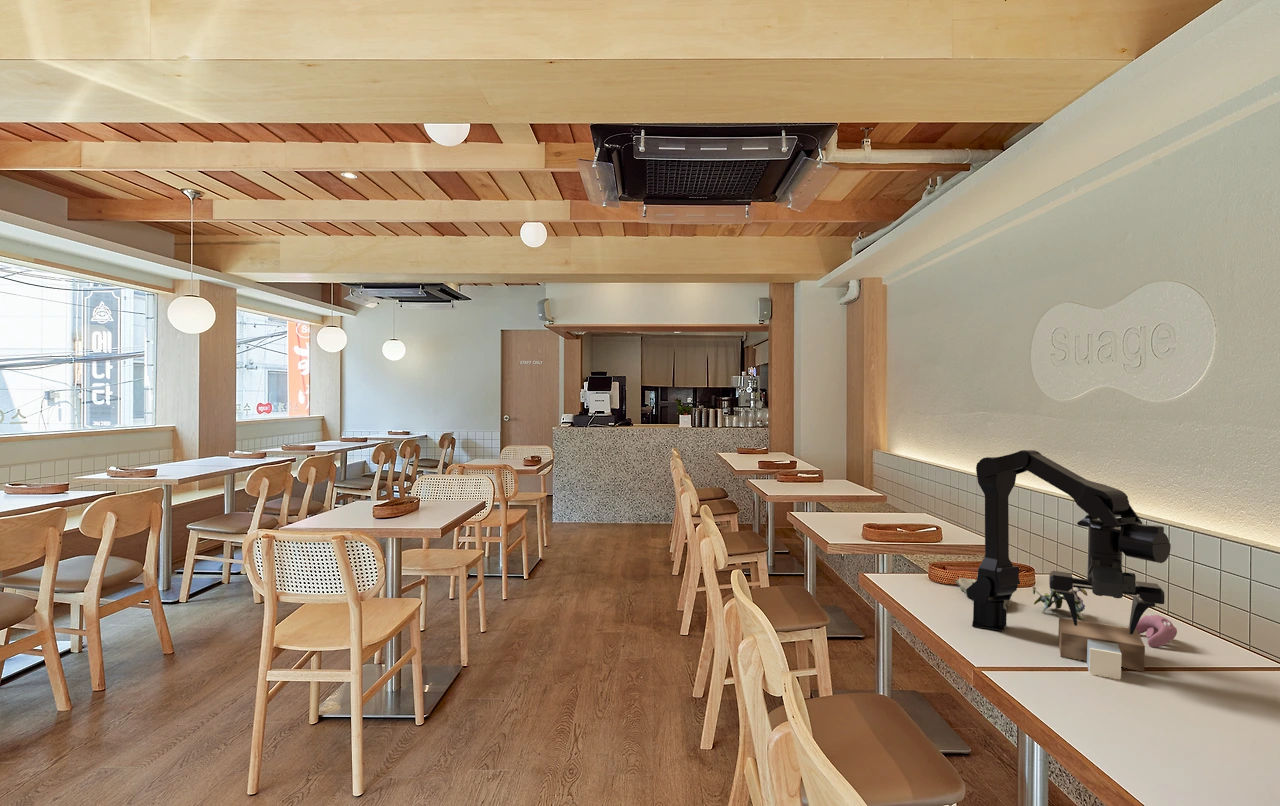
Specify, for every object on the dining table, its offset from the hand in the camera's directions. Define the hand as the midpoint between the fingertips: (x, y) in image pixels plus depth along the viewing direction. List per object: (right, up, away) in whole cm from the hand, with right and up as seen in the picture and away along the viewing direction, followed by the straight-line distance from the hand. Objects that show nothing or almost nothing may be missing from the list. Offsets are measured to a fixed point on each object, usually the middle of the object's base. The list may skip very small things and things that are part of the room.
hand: (1102, 629), depth 136 cm
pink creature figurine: (+22, -8, +16) cm, 28 cm away
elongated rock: (+1, -8, +52) cm, 53 cm away
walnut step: (+3, -7, +6) cm, 10 cm away
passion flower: (+12, -8, +33) cm, 36 cm away
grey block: (0, -5, 0) cm, 5 cm away
